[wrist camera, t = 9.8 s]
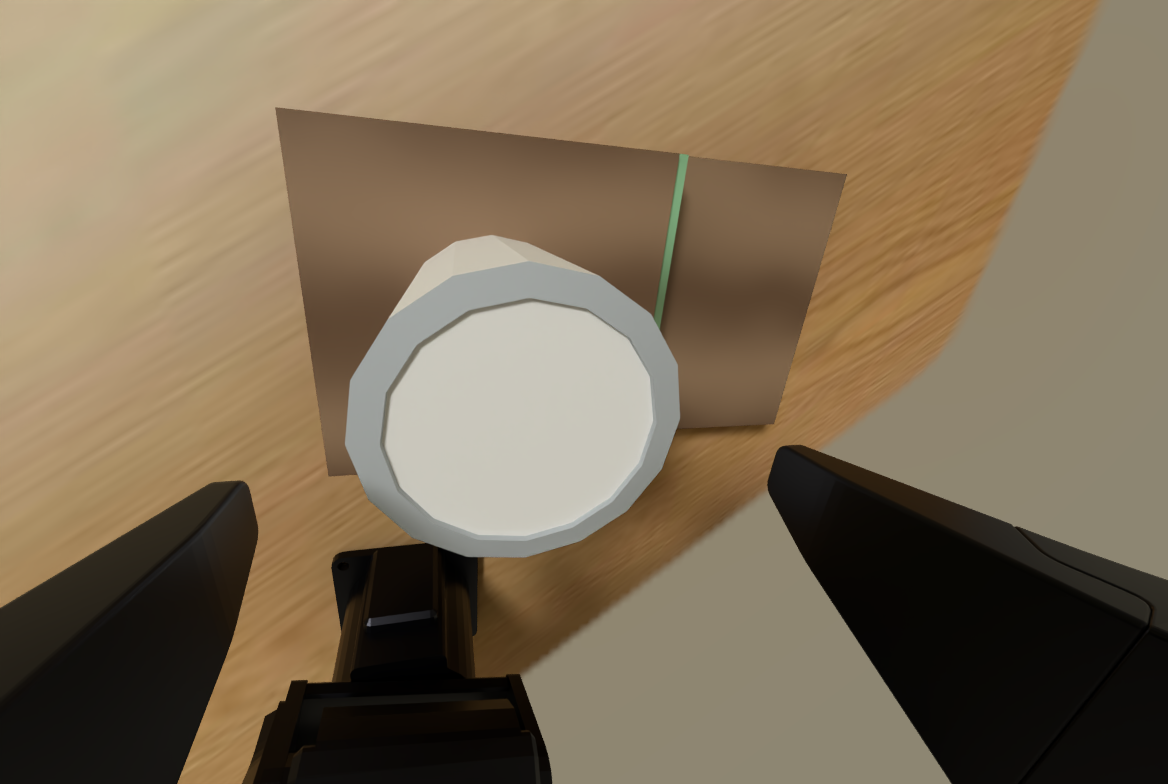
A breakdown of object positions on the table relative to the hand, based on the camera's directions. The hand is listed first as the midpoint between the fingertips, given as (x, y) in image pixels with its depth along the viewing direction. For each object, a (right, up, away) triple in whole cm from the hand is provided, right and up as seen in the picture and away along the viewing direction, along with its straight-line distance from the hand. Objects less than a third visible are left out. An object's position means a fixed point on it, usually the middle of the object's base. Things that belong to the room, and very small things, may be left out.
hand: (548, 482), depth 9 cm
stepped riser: (+1, +6, +12) cm, 13 cm away
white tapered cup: (-2, +4, +8) cm, 9 cm away
